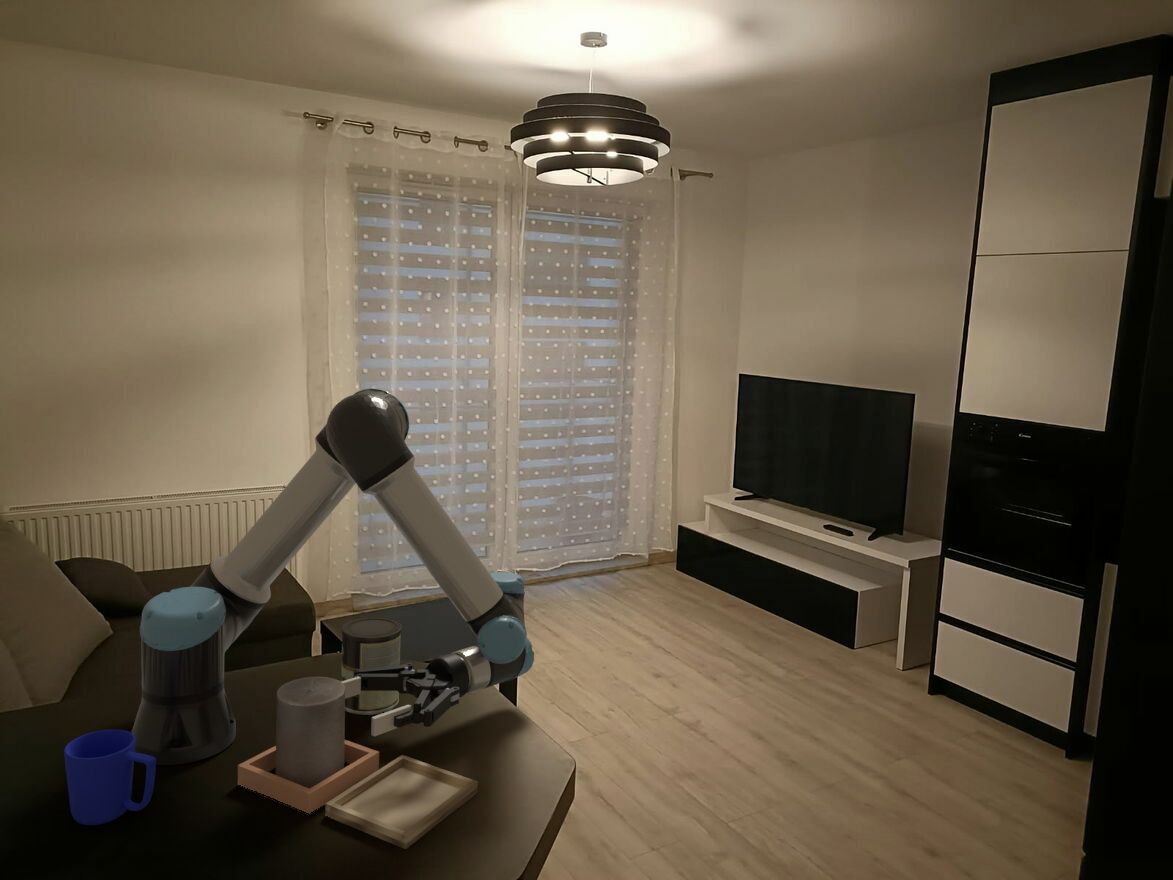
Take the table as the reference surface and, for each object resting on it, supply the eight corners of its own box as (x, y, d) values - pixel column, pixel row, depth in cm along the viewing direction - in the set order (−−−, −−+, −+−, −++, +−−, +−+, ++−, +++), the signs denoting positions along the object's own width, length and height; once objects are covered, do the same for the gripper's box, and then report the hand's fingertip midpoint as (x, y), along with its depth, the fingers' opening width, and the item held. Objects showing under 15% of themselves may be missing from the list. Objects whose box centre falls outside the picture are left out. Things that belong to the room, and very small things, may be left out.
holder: (237, 784, 120) (237, 765, 120) (310, 745, 133) (311, 727, 132) (308, 814, 114) (309, 794, 114) (378, 770, 126) (379, 751, 126)
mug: (130, 842, 106) (130, 768, 105) (50, 826, 108) (48, 753, 107) (174, 807, 114) (174, 738, 113) (98, 793, 116) (97, 725, 115)
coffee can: (329, 711, 145) (331, 633, 143) (354, 687, 155) (356, 614, 153) (386, 718, 143) (389, 639, 142) (407, 693, 153) (410, 620, 152)
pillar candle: (290, 758, 128) (290, 665, 126) (353, 762, 128) (354, 670, 126) (264, 793, 119) (264, 693, 117) (332, 798, 119) (333, 698, 116)
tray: (325, 815, 114) (325, 803, 114) (401, 765, 128) (402, 754, 128) (405, 849, 108) (406, 836, 107) (477, 793, 122) (477, 781, 122)
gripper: (505, 720, 134) (394, 766, 118) (412, 672, 150) (304, 706, 135) (507, 676, 133) (396, 715, 117) (413, 632, 150) (304, 662, 134)
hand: (346, 711), depth 126 cm, fingers open, 13 cm apart
